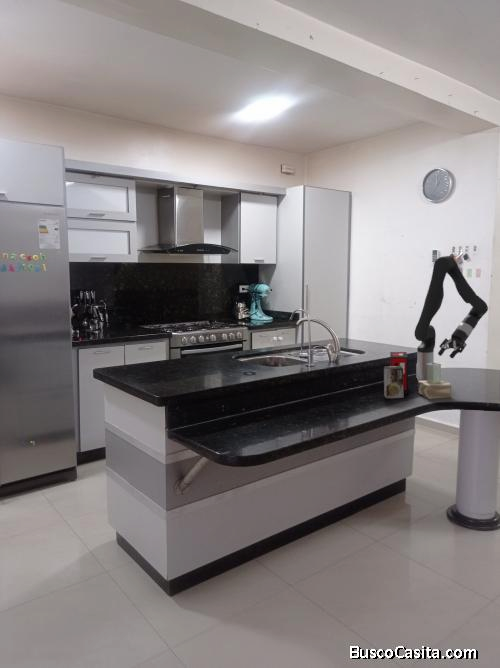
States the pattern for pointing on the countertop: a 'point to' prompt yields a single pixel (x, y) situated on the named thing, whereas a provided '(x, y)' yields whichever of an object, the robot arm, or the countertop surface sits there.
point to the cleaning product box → (402, 361)
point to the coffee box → (393, 382)
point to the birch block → (435, 389)
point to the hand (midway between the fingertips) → (444, 356)
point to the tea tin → (433, 373)
